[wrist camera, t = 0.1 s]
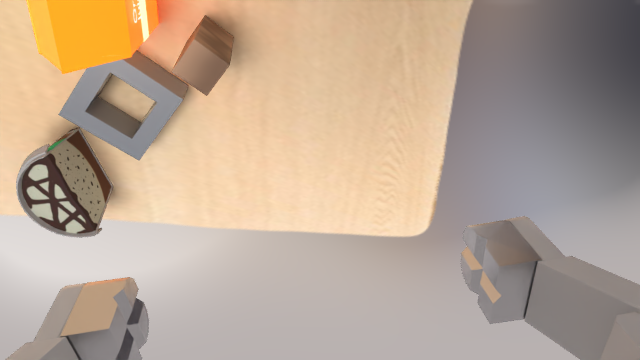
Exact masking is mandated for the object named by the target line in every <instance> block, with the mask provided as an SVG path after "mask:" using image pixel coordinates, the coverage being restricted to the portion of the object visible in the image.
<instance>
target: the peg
mask: <svg viewBox="0 0 640 360" xmlns="http://www.w3.org/2000/svg"><path fill="white" fill-rule="evenodd" d="M233 38H234V37H233V36H232V35H230V34H229V33H228V32H227V31H225V30H224V29H223V28H221V27H220V26H219V25H217V24H216V23H215V22H214V21H212V20H211V19H210V18H208V17H207V16H206V15H205V16H204V18H203V19H202V21H201V22H200V24H199V25H198V26H197V28H196V29H195V31H194V32H193V34H192V35H191V37H190V38H189V40H188V41H187V42H186V44H185V46H184V48H183V50H182V52H181V54H180V56H179V58H178V60H177V62H176V64H175V66H174V68H173V70H172V73H174V74H175V75H177V76H178V77H180V78H181V79H183V80H184V81H186V82H187V83H189V84H190V85H191V86H193V87H194V88H196V89H197V90H199V91H200V92H202V93H203V94H205V95H206V96H207V95H208V94H209V92H210V91H211V90H212V88H213V87H214V86H215V84H216V83H217V82H218V80H219V79H220V77H221V76H222V75H223V73H224V72H225V71H226V69H227V68H228V67H229V65H230V60H231V53H232V45H233Z"/></svg>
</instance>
